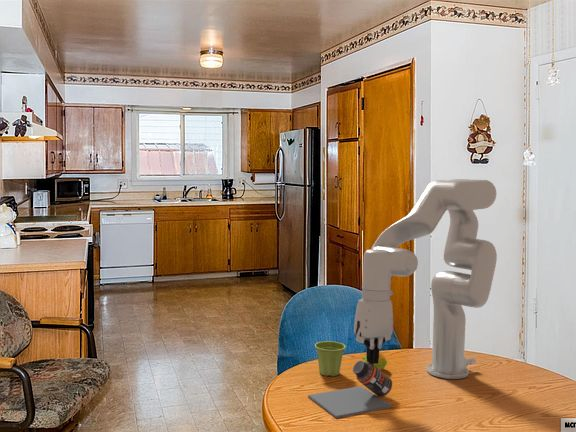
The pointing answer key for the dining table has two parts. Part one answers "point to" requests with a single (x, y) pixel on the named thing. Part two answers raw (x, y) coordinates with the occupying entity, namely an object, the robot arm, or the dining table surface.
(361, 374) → the supplement bottle
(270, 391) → the dining table surface
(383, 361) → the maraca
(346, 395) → the mat
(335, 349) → the plant pot
